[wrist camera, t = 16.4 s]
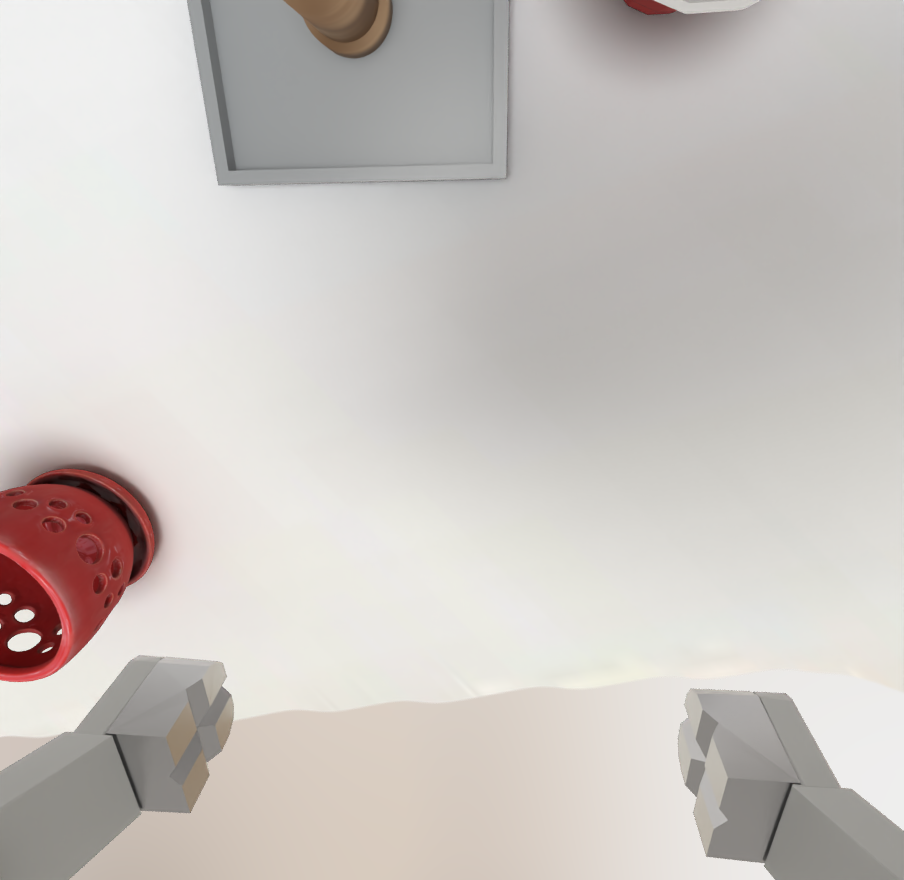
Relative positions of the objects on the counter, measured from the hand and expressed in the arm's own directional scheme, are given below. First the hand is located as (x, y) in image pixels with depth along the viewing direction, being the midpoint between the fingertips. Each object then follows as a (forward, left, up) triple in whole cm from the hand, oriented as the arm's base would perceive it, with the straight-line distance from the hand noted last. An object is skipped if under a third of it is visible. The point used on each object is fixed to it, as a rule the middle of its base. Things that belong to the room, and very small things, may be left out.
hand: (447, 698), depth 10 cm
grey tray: (+8, -18, -33) cm, 38 cm away
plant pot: (+34, +17, -33) cm, 50 cm away
